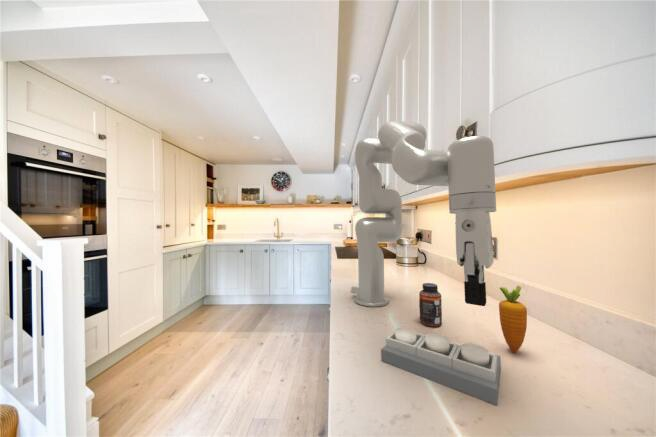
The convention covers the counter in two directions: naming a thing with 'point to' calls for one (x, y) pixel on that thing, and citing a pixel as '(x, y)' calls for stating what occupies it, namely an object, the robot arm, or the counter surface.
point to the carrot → (513, 319)
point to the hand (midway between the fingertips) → (475, 303)
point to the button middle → (437, 343)
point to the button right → (475, 354)
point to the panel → (445, 367)
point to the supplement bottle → (430, 305)
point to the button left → (406, 336)
